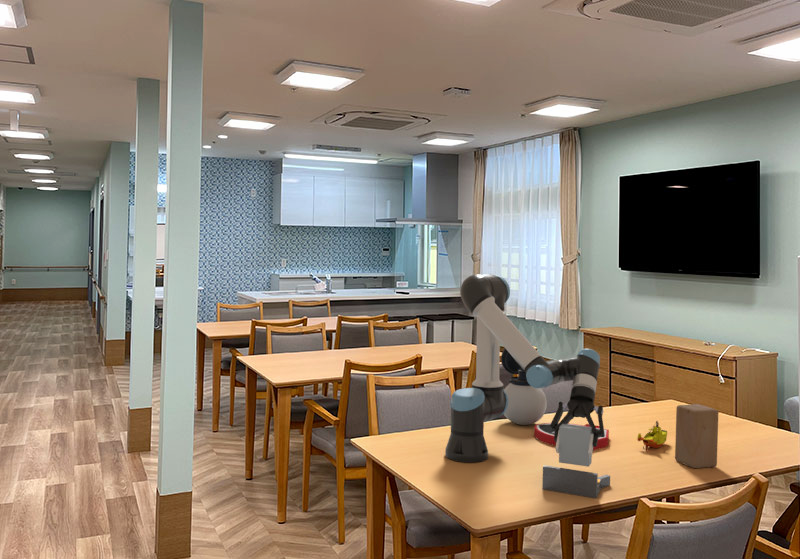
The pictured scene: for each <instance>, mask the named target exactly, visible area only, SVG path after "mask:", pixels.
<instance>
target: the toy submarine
mask: <svg viewBox="0 0 800 559" xmlns="http://www.w3.org/2000/svg"><path fill="white" fill-rule="evenodd" d="M648 430H649V431H648V432H647V433H645V435H644V436H643V437H642V434H641V433H638V434H637V441H638V442H641V441H642V443H643V446H642V449H643V450H645V452H648V449H649V447H650V448H654V449H658V448H661V447H663V446H664V445H665V443H666V441H667V438H668V431H667V430H665V429H662V428H661V426H659V421H658V420H656V421H655V424H654V425H653V426H652V428H649V429H648Z"/></svg>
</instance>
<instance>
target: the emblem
mask: <svg viewBox="0 0 800 559" xmlns="http://www.w3.org/2000/svg"><path fill="white" fill-rule="evenodd" d="M559 423H560V422H559ZM559 423H558V424H559ZM550 424H551V422H544V423H537V424H535V423H534V427H533V428H534V434H533V436H534V437H535V438H536V439H537V438H538V439H539V440H538V439H537V440H538V441H540V440H541V441H540V442H542V441H543V443H545V442H546V443H545V444H547V443H549V444H548V445H551V444H553V445H552V446H555V445H556V442H555V440H554V435H555V432H554V431H551V428H550ZM568 424H569V425H578V426H587V427H590V425H589V423H586V424H584V425H582V424H577V423H570V422H569V423H568ZM595 427H596V429H597V431H600V428H599V425H595ZM604 433H605V437H599V438H598V442H597V446H596V447H593V451H595V450H599V448H600V449H603V447H604V448H607V446H609V438H610V435H609V434H610V431H609V429H606V428H604ZM592 434H593V432H592Z"/></svg>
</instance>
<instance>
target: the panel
mask: <svg viewBox="0 0 800 559" xmlns="http://www.w3.org/2000/svg"><path fill="white" fill-rule="evenodd" d="M578 425H579V424H578ZM578 425H569V424H562V425H561V426H560V427H559V453H558V463H560V464H566V465H572V466H573V465H574V466H581V467H588V468H589V467H590V466H591V464H592V458H593V457H592V458H591V457H589V454H588V450H589V444H590V437H591V434H592V427H587V426H578Z"/></svg>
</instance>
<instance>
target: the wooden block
mask: <svg viewBox="0 0 800 559" xmlns="http://www.w3.org/2000/svg"><path fill="white" fill-rule="evenodd" d="M675 410H676V411H675V412H676V414H675V415H676V416H675V446H674V448H675V449H674V459H675V461H676V462H678V463H681V464H683V465H685V466H687V467H689V468H692V469H704V468H714V467H717V465H718V445H719V444H718V441H719V439H718V436H719V433H718V432H719V410H718V409H716V408H713V407H712V408H711V407H709V406H706V405H702V404H698V403H697V404H696V403H695V404H694V403H693V404H678V405H677V406H676V409H675Z"/></svg>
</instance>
